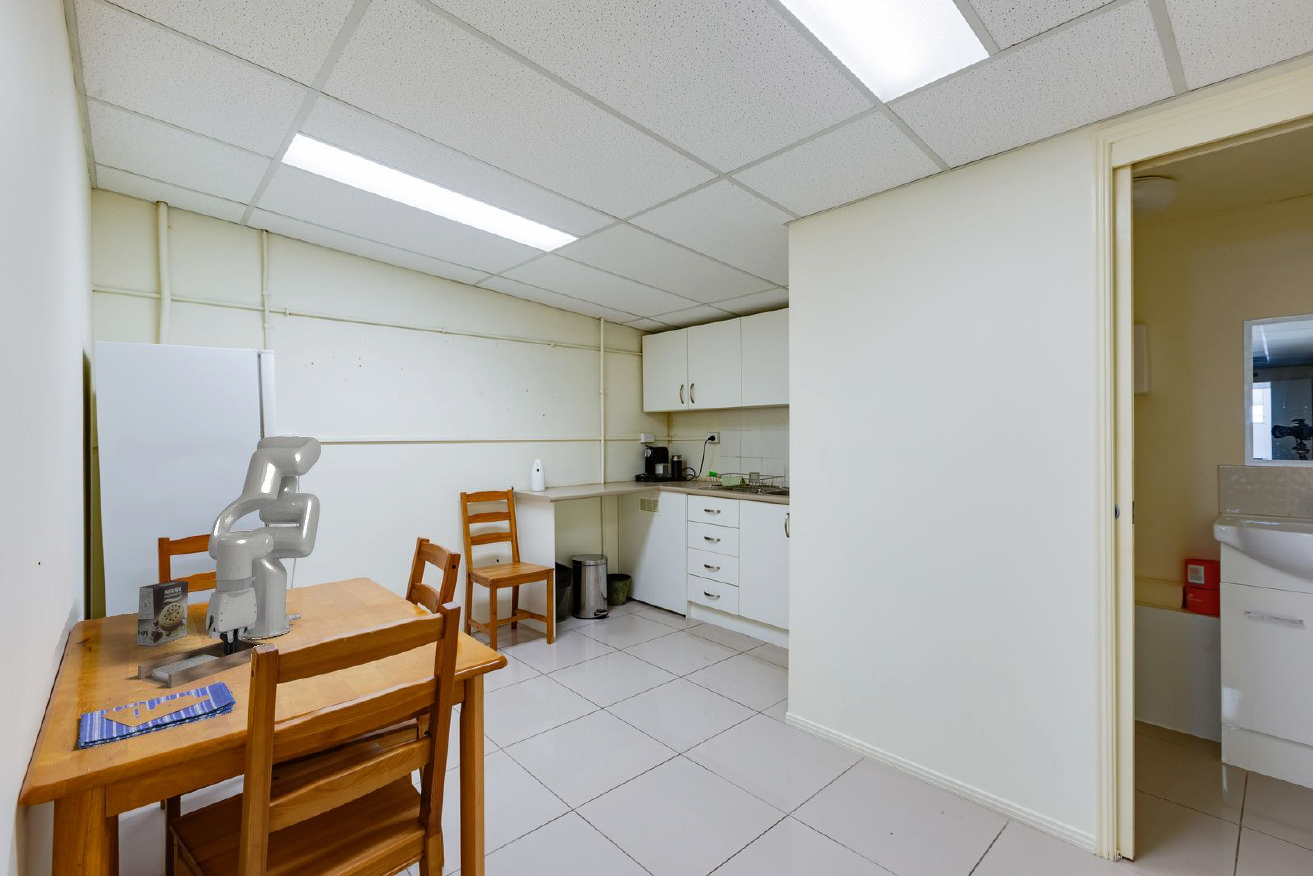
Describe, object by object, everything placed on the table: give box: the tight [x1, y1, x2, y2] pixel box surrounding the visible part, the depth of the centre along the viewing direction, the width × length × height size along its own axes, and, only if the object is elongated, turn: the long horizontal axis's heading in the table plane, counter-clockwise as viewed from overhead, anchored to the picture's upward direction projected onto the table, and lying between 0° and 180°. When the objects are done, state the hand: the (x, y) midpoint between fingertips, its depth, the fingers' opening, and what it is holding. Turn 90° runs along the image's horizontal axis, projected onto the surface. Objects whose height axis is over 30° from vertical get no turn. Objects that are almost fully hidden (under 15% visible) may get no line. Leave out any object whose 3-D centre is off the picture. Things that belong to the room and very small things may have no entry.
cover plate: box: [152, 654, 218, 682], centre depth 137 cm, size 11×8×2 cm
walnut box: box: [137, 638, 267, 689], centre depth 141 cm, size 22×13×4 cm, turn 158°
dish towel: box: [78, 681, 237, 751], centre depth 117 cm, size 17×24×3 cm
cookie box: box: [136, 580, 189, 647], centre depth 161 cm, size 9×6×16 cm
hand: (231, 655), depth 146 cm, fingers closed
